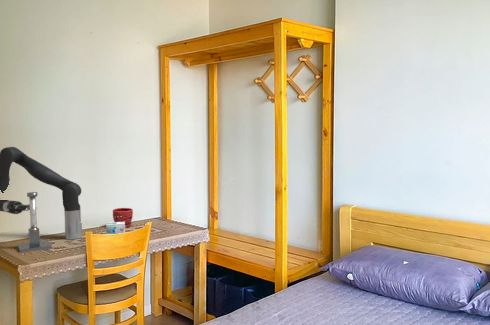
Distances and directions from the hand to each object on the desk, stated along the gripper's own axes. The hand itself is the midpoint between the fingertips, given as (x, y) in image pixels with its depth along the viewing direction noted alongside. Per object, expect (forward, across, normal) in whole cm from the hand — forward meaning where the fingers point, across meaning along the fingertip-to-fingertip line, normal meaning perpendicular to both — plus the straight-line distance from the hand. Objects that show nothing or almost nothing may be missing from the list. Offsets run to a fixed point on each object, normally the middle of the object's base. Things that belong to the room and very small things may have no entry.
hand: (28, 209), depth 260 cm
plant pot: (+4, +64, +21) cm, 68 cm away
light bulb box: (+32, +35, +21) cm, 52 cm away
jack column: (+4, 0, +14) cm, 15 cm away
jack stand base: (+4, 0, +21) cm, 21 cm away
